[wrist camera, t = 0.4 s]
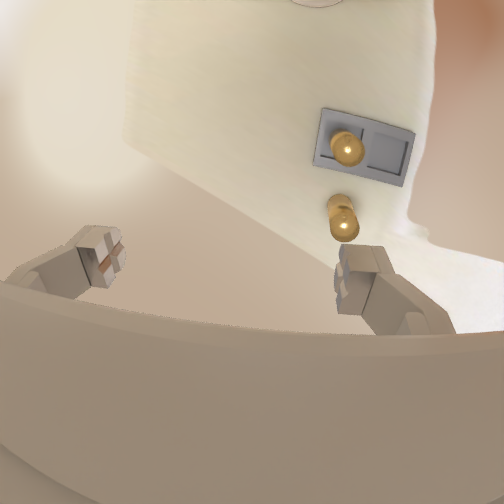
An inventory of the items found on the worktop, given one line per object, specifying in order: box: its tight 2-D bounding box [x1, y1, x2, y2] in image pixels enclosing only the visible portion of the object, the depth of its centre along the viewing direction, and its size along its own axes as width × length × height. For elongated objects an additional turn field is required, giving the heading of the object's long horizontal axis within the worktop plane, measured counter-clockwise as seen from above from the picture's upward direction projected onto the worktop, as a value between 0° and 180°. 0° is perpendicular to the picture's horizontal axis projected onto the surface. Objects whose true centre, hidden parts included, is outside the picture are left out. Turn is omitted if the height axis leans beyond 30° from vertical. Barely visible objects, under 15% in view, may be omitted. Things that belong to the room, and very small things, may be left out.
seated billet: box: [328, 128, 365, 167], centre depth 45 cm, size 5×5×11 cm
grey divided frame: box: [313, 108, 416, 187], centre depth 49 cm, size 11×18×2 cm, turn 83°
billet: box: [327, 194, 360, 242], centre depth 52 cm, size 5×5×11 cm
